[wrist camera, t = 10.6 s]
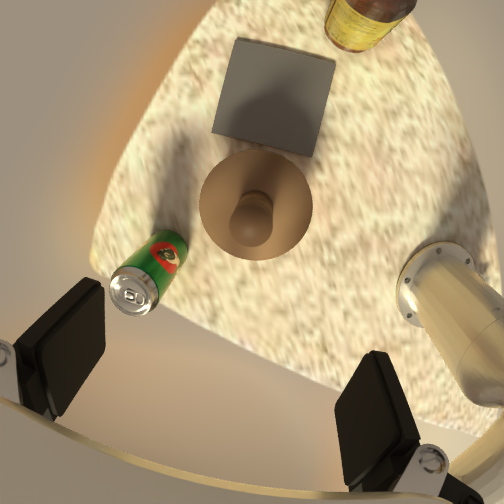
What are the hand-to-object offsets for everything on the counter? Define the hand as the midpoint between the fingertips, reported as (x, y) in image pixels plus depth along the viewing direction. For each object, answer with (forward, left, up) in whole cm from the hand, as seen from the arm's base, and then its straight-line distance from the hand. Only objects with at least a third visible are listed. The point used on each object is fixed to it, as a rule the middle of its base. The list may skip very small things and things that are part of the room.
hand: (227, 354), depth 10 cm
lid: (0, 0, -21) cm, 21 cm away
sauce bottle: (-5, -22, -26) cm, 35 cm away
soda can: (+9, +9, -26) cm, 29 cm away
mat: (+1, -11, -26) cm, 29 cm away
